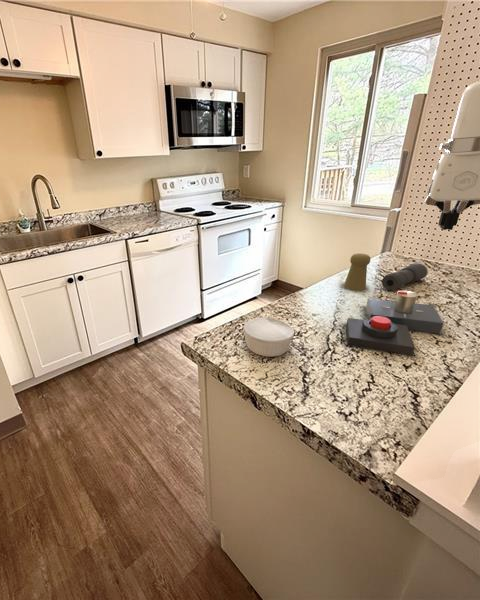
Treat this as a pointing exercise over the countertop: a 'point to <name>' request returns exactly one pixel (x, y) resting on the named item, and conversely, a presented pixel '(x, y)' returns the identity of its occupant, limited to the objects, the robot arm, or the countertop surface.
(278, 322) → the ramekin
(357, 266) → the cork
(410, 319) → the control panel
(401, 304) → the dial
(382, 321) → the power button
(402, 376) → the countertop surface
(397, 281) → the flashlight
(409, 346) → the switch block
